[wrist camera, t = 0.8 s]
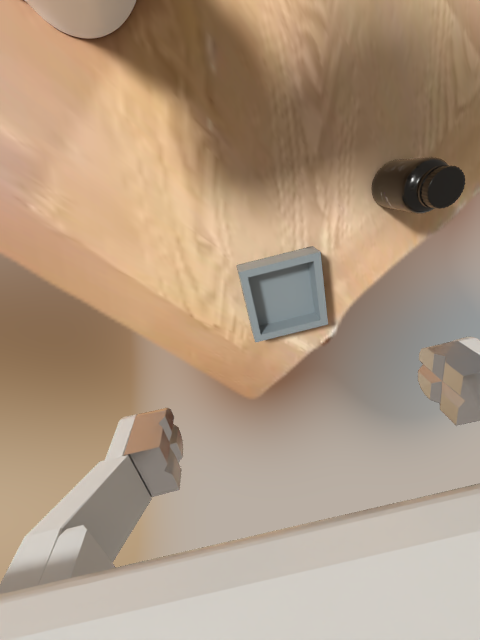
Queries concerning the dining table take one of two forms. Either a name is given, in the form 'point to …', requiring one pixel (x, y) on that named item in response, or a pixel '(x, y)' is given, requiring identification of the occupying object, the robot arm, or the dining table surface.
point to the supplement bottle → (417, 184)
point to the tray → (284, 293)
